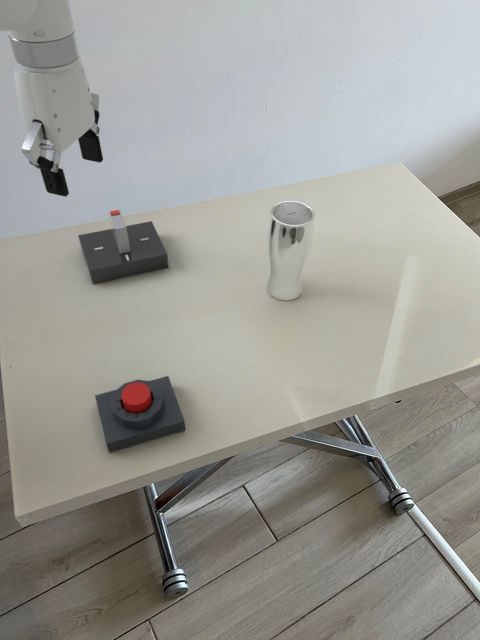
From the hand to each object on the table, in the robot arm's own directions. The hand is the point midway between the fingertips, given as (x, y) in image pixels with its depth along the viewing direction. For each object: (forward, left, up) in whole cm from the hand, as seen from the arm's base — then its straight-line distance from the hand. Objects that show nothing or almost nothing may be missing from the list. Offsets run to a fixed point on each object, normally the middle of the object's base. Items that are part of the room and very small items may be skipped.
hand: (76, 176), depth 77 cm
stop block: (-14, -28, -18) cm, 36 cm away
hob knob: (+5, 0, -15) cm, 16 cm away
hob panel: (+5, 0, -18) cm, 19 cm away
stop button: (-14, -28, -14) cm, 35 cm away
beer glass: (+19, -25, -18) cm, 36 cm away
